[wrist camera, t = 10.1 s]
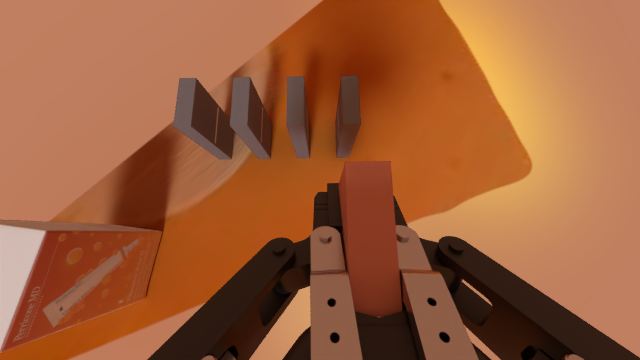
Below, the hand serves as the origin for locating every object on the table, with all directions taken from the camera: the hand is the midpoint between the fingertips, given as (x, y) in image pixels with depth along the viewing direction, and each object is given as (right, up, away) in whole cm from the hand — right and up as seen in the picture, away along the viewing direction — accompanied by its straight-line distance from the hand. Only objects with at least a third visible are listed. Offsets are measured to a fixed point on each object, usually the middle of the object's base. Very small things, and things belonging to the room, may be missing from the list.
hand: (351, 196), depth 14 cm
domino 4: (+1, +6, +18) cm, 19 cm away
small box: (-25, -9, +15) cm, 30 cm away
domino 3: (-4, +6, +18) cm, 20 cm away
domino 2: (-9, +6, +18) cm, 21 cm away
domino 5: (0, -3, +4) cm, 5 cm away
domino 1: (-14, +6, +18) cm, 24 cm away
